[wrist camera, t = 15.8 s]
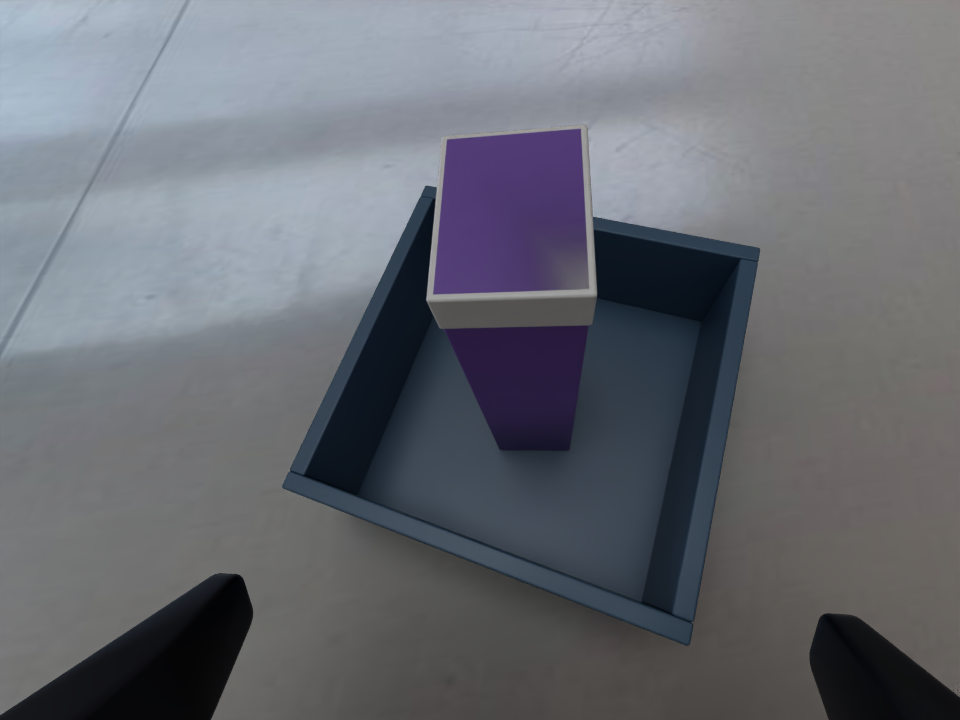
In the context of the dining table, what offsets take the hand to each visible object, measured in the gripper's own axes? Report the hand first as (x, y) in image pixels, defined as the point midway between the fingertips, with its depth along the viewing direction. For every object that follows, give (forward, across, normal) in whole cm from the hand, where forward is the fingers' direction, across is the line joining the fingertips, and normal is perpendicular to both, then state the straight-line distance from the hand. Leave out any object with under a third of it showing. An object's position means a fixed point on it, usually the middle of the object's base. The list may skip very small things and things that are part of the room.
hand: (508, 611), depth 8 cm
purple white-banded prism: (+14, 0, +4) cm, 14 cm away
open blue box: (+14, 0, +4) cm, 14 cm away
